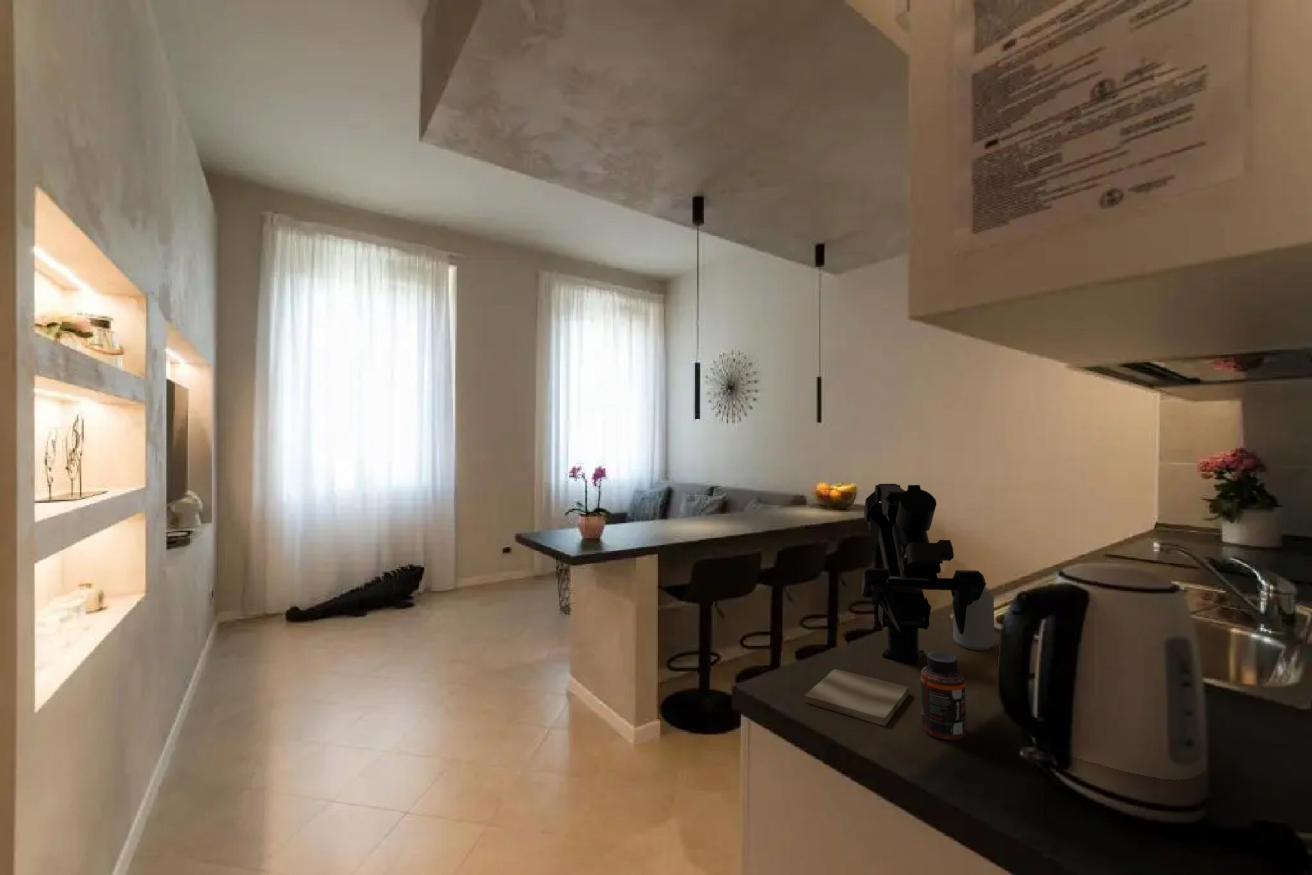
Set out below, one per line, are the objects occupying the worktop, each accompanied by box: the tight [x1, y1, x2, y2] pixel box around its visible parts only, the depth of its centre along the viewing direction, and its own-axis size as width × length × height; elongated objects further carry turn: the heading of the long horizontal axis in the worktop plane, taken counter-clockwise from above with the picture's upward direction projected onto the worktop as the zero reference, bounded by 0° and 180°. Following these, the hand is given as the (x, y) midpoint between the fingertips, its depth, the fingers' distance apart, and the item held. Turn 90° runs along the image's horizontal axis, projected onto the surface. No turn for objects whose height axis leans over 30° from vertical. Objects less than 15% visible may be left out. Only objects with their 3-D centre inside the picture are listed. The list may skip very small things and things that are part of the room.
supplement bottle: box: [920, 651, 967, 741], centre depth 85 cm, size 6×6×11 cm
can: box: [951, 586, 996, 651], centre depth 117 cm, size 8×8×12 cm
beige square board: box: [804, 668, 910, 727], centre depth 96 cm, size 13×13×1 cm
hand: (930, 631), depth 91 cm, fingers open, 9 cm apart
